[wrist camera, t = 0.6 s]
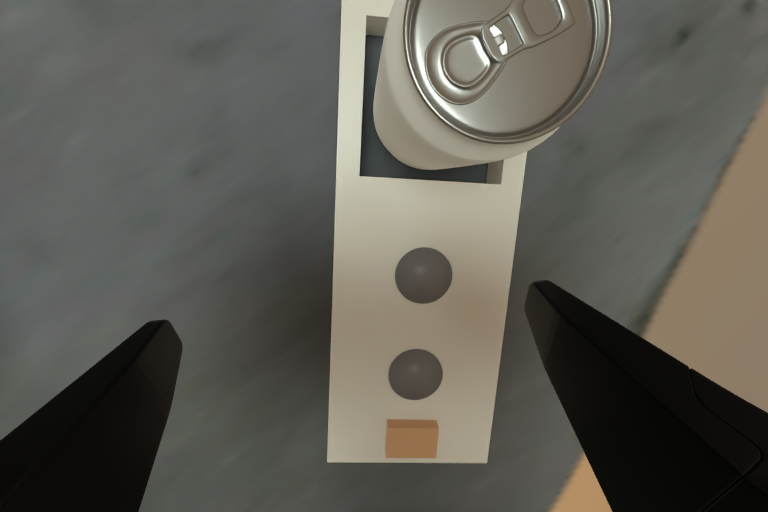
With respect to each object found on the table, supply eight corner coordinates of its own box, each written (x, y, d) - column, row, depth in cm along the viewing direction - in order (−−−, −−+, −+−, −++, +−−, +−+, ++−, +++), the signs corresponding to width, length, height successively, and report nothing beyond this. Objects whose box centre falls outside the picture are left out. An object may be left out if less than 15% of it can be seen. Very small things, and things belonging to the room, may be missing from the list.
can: (350, 93, 21) (336, -16, 9) (448, 28, 21) (563, -173, 9) (410, 191, 22) (465, 205, 11) (503, 131, 22) (667, 76, 10)
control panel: (474, 436, 26) (491, 472, 23) (330, 434, 25) (325, 472, 22) (524, 24, 21) (554, -4, 18) (344, 8, 20) (341, -24, 17)
